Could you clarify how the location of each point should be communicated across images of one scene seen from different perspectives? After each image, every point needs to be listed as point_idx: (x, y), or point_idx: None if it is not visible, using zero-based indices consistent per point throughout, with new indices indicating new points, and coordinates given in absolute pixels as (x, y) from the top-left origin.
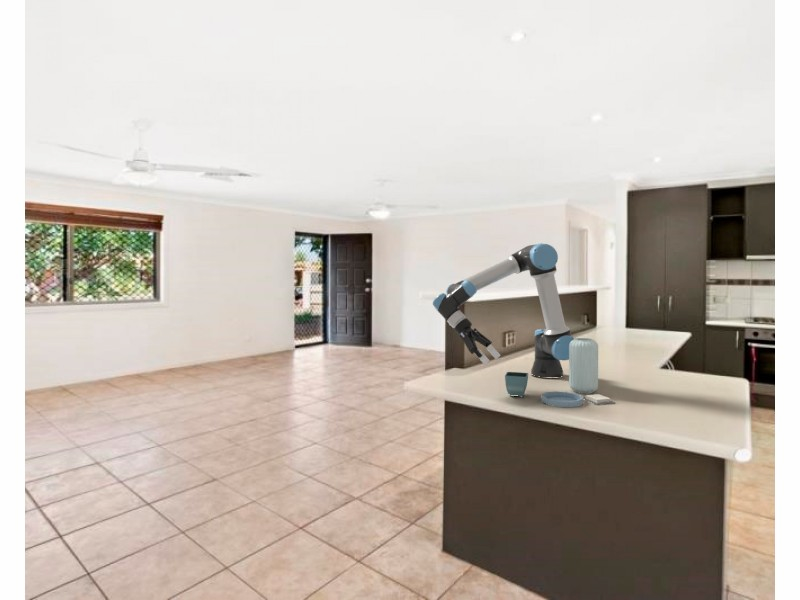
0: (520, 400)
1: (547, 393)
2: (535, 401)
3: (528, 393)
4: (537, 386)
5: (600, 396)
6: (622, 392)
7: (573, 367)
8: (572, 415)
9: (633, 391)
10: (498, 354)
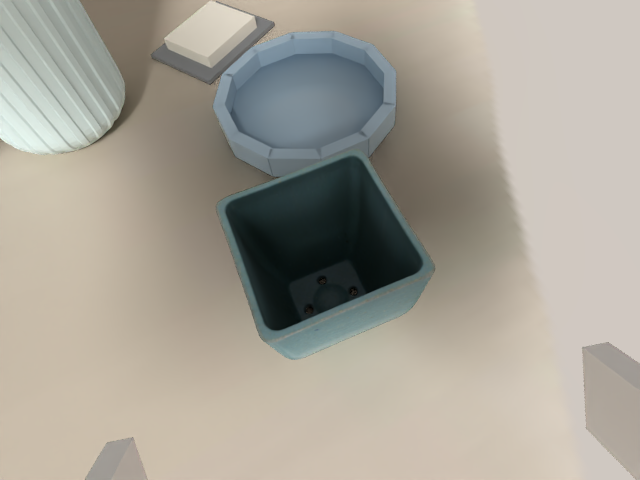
0: None
1: (285, 149)
2: None
3: None
4: (50, 314)
5: (197, 25)
6: None
7: (52, 24)
8: (459, 25)
9: None
10: (124, 468)
